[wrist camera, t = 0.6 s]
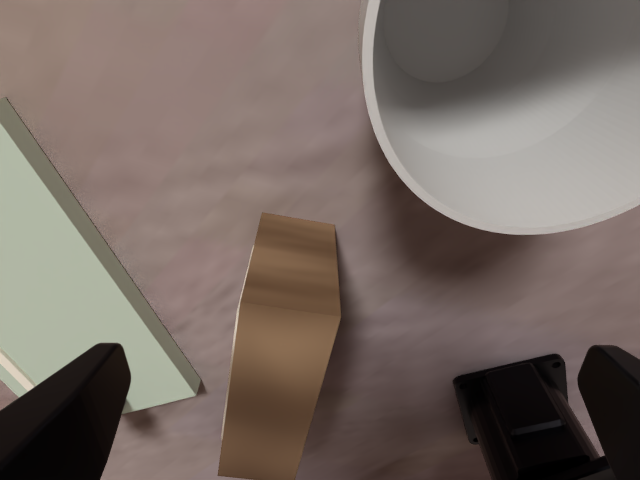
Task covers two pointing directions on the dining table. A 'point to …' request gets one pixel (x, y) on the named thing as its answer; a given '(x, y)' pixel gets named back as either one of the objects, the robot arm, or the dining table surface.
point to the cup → (508, 107)
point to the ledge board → (69, 285)
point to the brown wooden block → (280, 347)
